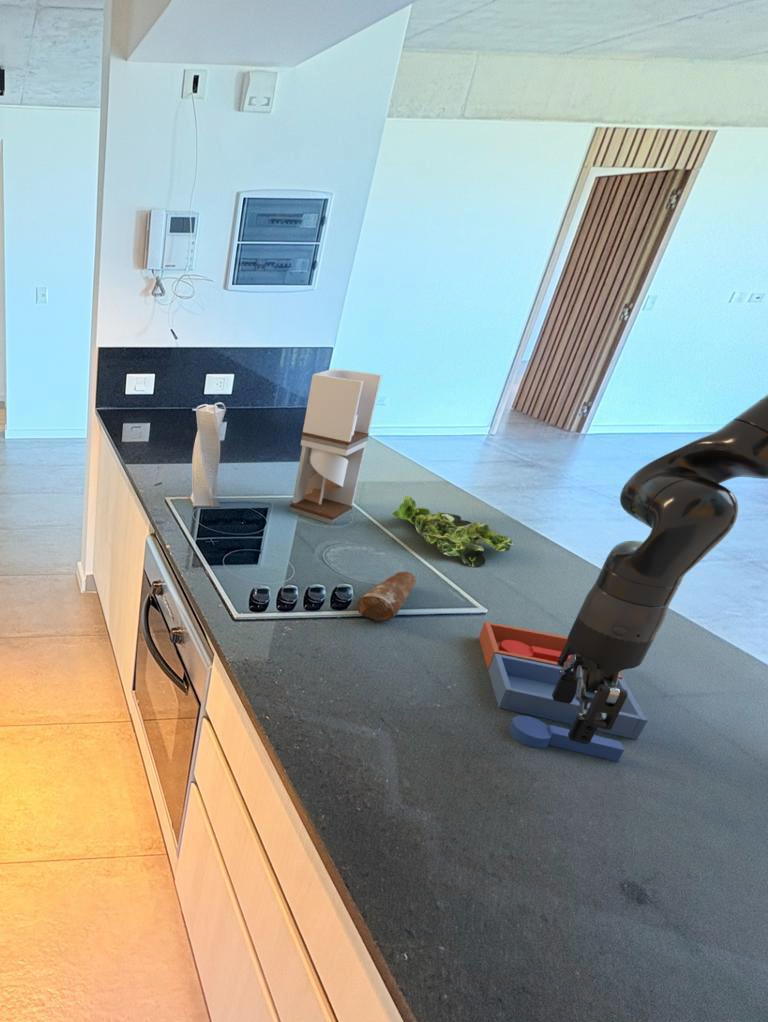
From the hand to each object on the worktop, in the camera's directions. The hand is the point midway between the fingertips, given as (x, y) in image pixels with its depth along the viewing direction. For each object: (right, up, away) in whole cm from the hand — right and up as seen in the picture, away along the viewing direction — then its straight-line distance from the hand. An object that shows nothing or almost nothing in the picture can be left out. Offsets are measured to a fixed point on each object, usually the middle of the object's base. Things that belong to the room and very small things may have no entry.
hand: (568, 719), depth 85 cm
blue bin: (+6, 0, +9) cm, 11 cm away
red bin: (+10, +4, +17) cm, 20 cm away
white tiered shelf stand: (-2, +32, +74) cm, 81 cm away
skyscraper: (-30, +35, +80) cm, 93 cm away
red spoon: (+11, +4, +17) cm, 20 cm away
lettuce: (+21, +25, +59) cm, 67 cm away
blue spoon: (+1, -4, +1) cm, 4 cm away
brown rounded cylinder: (-6, +12, +35) cm, 38 cm away
